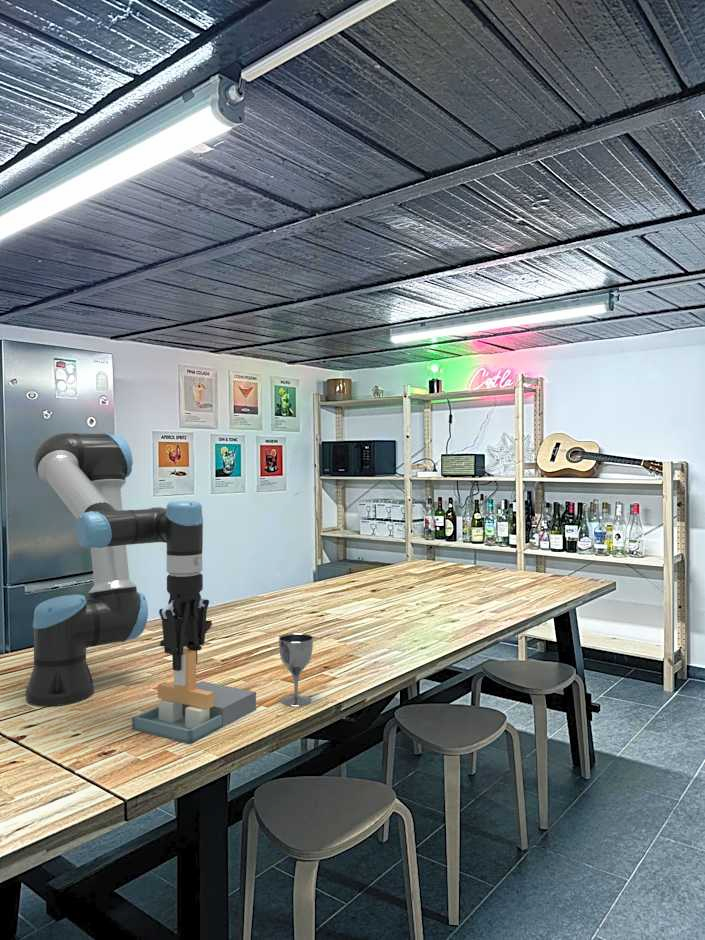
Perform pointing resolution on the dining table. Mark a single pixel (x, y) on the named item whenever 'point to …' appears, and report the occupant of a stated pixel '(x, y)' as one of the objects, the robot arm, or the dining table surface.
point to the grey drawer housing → (228, 702)
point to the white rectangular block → (195, 716)
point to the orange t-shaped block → (187, 687)
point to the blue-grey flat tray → (174, 727)
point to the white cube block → (170, 710)
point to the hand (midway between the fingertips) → (185, 682)
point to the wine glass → (295, 662)
